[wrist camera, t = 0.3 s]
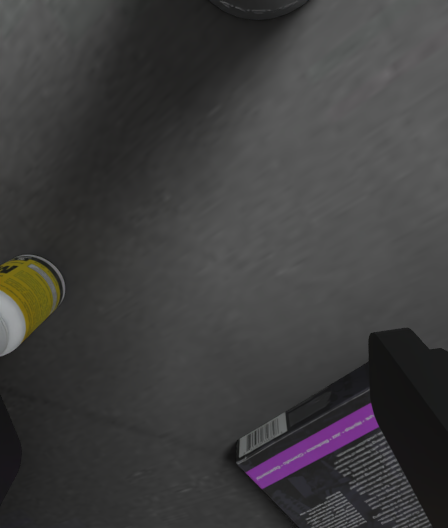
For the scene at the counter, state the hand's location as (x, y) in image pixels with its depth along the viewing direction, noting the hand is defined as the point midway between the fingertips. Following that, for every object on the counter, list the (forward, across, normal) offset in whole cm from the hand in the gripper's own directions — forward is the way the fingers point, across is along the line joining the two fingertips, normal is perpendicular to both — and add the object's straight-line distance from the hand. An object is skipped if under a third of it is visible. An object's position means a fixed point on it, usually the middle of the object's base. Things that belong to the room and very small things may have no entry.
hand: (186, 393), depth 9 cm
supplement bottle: (+21, +13, +4) cm, 25 cm away
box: (+19, -10, +25) cm, 33 cm away
